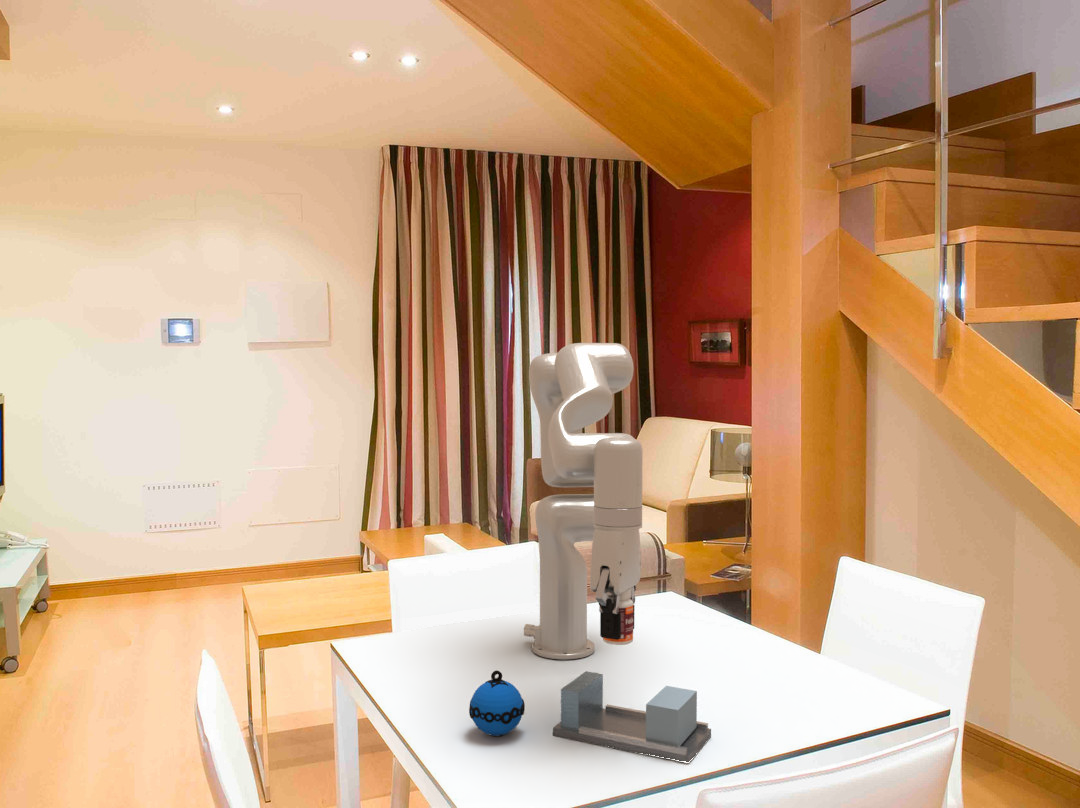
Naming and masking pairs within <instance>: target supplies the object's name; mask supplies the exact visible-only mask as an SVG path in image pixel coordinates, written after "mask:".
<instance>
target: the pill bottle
mask: <svg viewBox="0 0 1080 808" xmlns="http://www.w3.org/2000/svg"><path fill="white" fill-rule="evenodd" d="M613 590H614V589H612V588H608V591H607V592H613ZM613 593H614V592H613ZM608 598H610V599H611V600H612V602H614V597H613V596H608ZM630 598H631V588H630V589H628V590H626V591H624V592H623V593H621V594H620V602H619V611H618V613H621V638H620V639H618V640H616V639H609V638H602V641H603V642H604V643H606V644H608V645H614V646H625V645H629V644H631V643H633V642H634V629H633V607H634V608H635V604H633V601H632V600H631V599H630Z"/></svg>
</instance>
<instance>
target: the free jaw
mask: <svg viewBox="0 0 1080 808" xmlns="http://www.w3.org/2000/svg"><path fill="white" fill-rule="evenodd" d="M697 693H698V692H697V690H693V689H687V688H681V687H675V686H672V685H671V686H670V685H665V686H664V687H663V688H662V689H661V690H660V691H658V693H657V694H655V695H654V696H653V697H652V698H651V699H650V700H649V701H648V702H647V703H646V704H645V709H646V710H645V712H646V740H651V741H656V742H661V743H666V744H671V745H676V746H681V744H682V743H683V742H684V741H685V740H686V739H687V738H688V736H689V735H690V734H691V733H692V732H693V731H694V730H695V728H696V727H697V720H698V719H697V716H698V715H697V714H698V713H697V712H698V711H697V710H698V709H697V706H698V701H697V699H698V695H697Z"/></svg>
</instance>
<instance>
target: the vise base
mask: <svg viewBox="0 0 1080 808" xmlns="http://www.w3.org/2000/svg"><path fill="white" fill-rule="evenodd" d="M603 677H604V674H603V673H598V672H592V671H588V670H587V671H585V672H583V673H582V674H580V675H579V676H577V677H576V678H574V679H573V680H572V681H570V682H569V683H568V684H566V685H565V686H563V687H562V688H561V689H560V722H558V723H557V724H556V725H554V726H553V727H552V736H554V737H560V738H564V739H568V740H573V741H578V742H583V743H588V744H592V745H595V746H596V745H597V746H600V747H601V746H602V747H605V746H607V747H606V748H610V747H614V748H613V749H615V748H617V749H616V750H619V749H621V750H620V751H624V750H626V751H625V752H629V751H632V752H631V753H634V752H637V753H636V754H638V753H643V754H648V755H649V754H650V755H655V756H659V757H664V758H670V759H675V760H679V761H686V762H689V761H690V760H691V759H692V758H693V757H694V756H695V755H696V753H697V752H698V751H699V750H700V749H701V750H702V749H703V747H704V746H705V745H706V743H707V742H708V741H709V740H710V739H711V737H712V728H709V723H708V722H703V721H697V727H696V728H695V730H694V731H693V732H692V733H691V734H690V735H689V736H688V738H687V739H686V740H685V741H684V742H683V743H682V744H681V746H676V745H671V744H666V743H661V742H656V741H651V740H646V710H645V711H643V710H639V709H635V708H629V707H628V708H627V707H623V706H619V705H612V704H609V703H608V704H606V705H605V707H603V701H604V700H603V699H604V697H603V696H604V695H603V693H604V692H603V691H604V690H603V689H604V684H603V681H604V678H603ZM708 739H709V740H708ZM707 740H708V741H707ZM706 741H707V742H706ZM704 744H705V745H704ZM703 745H704V746H703ZM608 746H609V747H608ZM702 746H703V747H702ZM701 750H700V751H701ZM700 751H699V752H700ZM699 752H698V753H699ZM698 753H697V754H698ZM643 754H642V755H643ZM648 755H647V756H648ZM696 756H697V755H696ZM696 756H695V757H696ZM695 757H694V758H695ZM694 758H693V759H694ZM693 759H692V760H693Z"/></svg>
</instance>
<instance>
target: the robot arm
mask: <svg viewBox="0 0 1080 808" xmlns="http://www.w3.org/2000/svg"><path fill="white" fill-rule="evenodd" d="M528 369H529V370H528V382H529V383H528V384H529V389H530V392H531V396H532V399H533V402H534V404H535V407H536V410H537V414H538V417H539V427H540V428H539V429H540V430H539V431H540V463H541V465H540V466H541V474H542V479H543V481H544V483H545V484H547V485H548V486H550V487H553V488H593V493H567V494H566V493H565V494H564V493H563V494H561V493H560V494H553V495H548V496H545V497H544V498H542V499H540V500H539V501H538V503H537V505H536V506H535V514H534V515H535V517H534V519H535V525H536V531H537V539H538V540H537V541H538V549H539V550H538V551H539V625H535V624H530V623H526V624H524V626H523V627H524V628H523V636H525V637H531V638H534V641H533V642H532V644H531V650H532V652H533V653H534V654H536V655H537V656H539V657H542V658H547V659H552V660H576V659H582V658H585V657H588V656H590V655H592V654H593V653H594V652H595V649H596V648H595V644H594V642H593V641H591V640H590V639H588V566H587V562H586V559H585V557H584V556H583V555H582V553H581V552H580V551H579V550H578V549H577V548H576V546H575V544H576V543H581V542H592V544H591V545H592V546H591V556H590V557H591V558H590V572H589V574H590V576H589V577H590V578H589V588H590V591H591V592H593V593H595V595H594V596H595V599H596V601H597V602H598V605H599V608H598V610H599V613H600V619H599V620H600V622H599V625H600V631H599V633H600V638H602V639H603V638H609V639H616V640H618V639H620V638H621V613H618V611H619V602H620V594H621V593H623V592H624V591H626V590H628V589H630V588H631V598H630V599H631V600H632V601H633V605H635V602H636V591H637V585H638V584H639V582H640V580H641V570H642V563H641V561H642V559H641V558H642V557H641V556H642V555H641V537H640V529H642V528H643V446H642V443H641V442H640V441H639V440H638V439H635V437H634V436H632V435H631V434H628V433H623V432H622V433H621V432H610V433H609V432H606V433H604V432H601V433H600V432H592V433H591V432H588V433H587V432H584V433H583V429H584V428H587V427H588V426H591V425H593V424H595V423H598V422H599V421H601V420H602V419H603V418H605V417H606V416H607V415H608V414H609V413H610V411H611V409H612V407H613V404H614V398H613V397H614V396H613V394H614V395H615V394H616V393H619V392H620V391H622V390H624V389H626V388H628V387H629V385H630V384H631V382H632V380H633V377H634V360H633V358H632V355H631V353H630V351H629V349H628V348H627V347H626V346H625V345H623V344H622V343H618V342H615V343H614V342H577V343H569V344H567V345H565V346H564V347H561V349H560V350H559V351H558V352H549V353H544V354H539V355H537V356H535V357H534V358H533V359H531V362H530V363H529V368H528ZM608 588H612V589H614V590H613V592H614V593H613V592H607V591H608ZM608 596H613V597H614V602H612V600H611V599H610V598H608ZM634 629H635V606H634V607H633V630H634Z"/></svg>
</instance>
